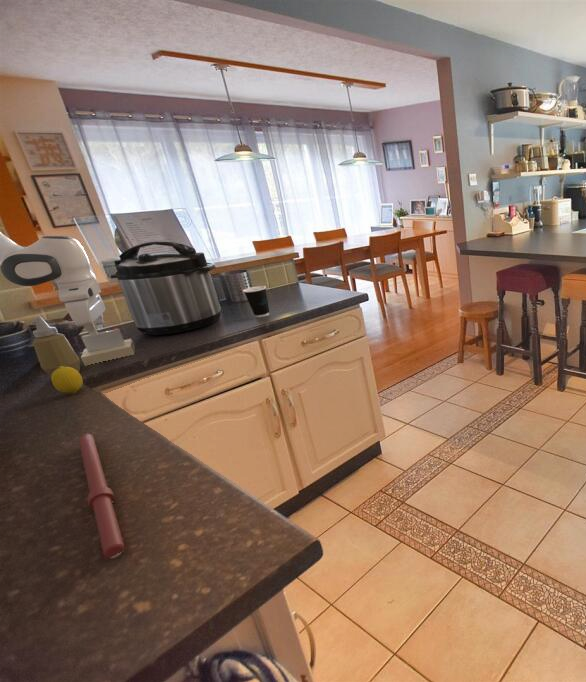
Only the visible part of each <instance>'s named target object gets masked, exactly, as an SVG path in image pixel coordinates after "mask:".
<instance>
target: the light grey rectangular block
mask: <svg viewBox="0 0 586 682" xmlns="http://www.w3.org/2000/svg"><path fill="white" fill-rule="evenodd" d="M98 333H99V335H98V336H96V337H91V336H90V335H89V334H84V335H82V336H81V340H82V341H83V345H84V347H85V349H86V348H87V350H88V352H91V351H96V350H101V349H106V348H110V347H115V346H120V345H124V344H125V341H124V340H125V339H124V336H123V334H122V332H121V329H120V328H118V327H117V328H113V329H110V330H105V331H100V332H99V331H98Z"/></svg>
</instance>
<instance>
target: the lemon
mask: <svg viewBox="0 0 586 682" xmlns="http://www.w3.org/2000/svg"><path fill="white" fill-rule="evenodd" d="M50 378H51V383H52V385H53V387H54V389H55V390H57V391H58V392H61V393H64V394H67V393H68V394H71V395H74V394H76V393H77V391H79V390H80V389H81V388H82V386H83V383H84V382H83V381H84V380H83V376H82V375H81V373H80V371H79V372H78V371H77V370H75V369H74V368H71V367H63V366H60V367H59V368H58V369H56V370H55V371H54V372H53V373H52V376H50Z"/></svg>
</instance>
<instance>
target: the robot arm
mask: <svg viewBox="0 0 586 682" xmlns="http://www.w3.org/2000/svg"><path fill="white" fill-rule="evenodd" d="M0 271H1V274H2V276H3V277H4V278H5V279H6V280H8V281H9V282H10V283H12V284H15V285H18V286H21V287H23V286H24V287H36V286H39V285H43V284H45V283H49V282H51V281H55V284H56V286H57V289H58V291H59V292H58V299H59V301H60V302H61V303H64V306H65V309H66V311H67V313H68V315H69V316H70V319H71V320H72V322H73V323H74V324H75V326H77V327H83V328H84V329H85V330H86V331H87V332H88V335H90V336H91V337H96V336H98V335H99V331H98V330H103V329H105V328H106V324H105V321H104V315H103V313H104V312H106V305H105V303H104V301H103V299H102V297H101V295H100V294H101V293H102V289H101V286H100V284H99V282H98V279H97V277H96V275H95V274H94V273H93V271H92V269H91V263H90V260H89V257H88V255H87V253H86V251H85V250H84V247H83V246H82V245H81V243H80V241H78V240H77V239H75V238H73V237H71V236H65V235H45V236H41V237H40V238H39V239H37V241H35V242H33V243H32V244H30V245H28V246H23V245H20V244H19V243H17V242H15V241H13V240H12V239H11V238H9V237H8V236H6V235H5V234H4V233H2V232H1V231H0Z"/></svg>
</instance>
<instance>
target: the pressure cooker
mask: <svg viewBox="0 0 586 682" xmlns="http://www.w3.org/2000/svg"><path fill="white" fill-rule="evenodd" d="M154 245H156V246H164V247H165V246H166V247H172V248H173V249H174V250H175V251H176V252H162V253H161V252H160V253H152V254H150V253H140V254H139V252H140V250H141V248H145V247H149V246H154ZM118 257H119V259H115V260H114V265H115V270H116V272H115V273H114V274H111V275H110V278H111V280H112V279H113V280H114V279H116V280H117V282H118V284H119V287H120V290H121V293H122V295H123V297H124V301H125V302H126V305H127V307H128V310H129V314H130V315H131V318H132V320H133V323H134V327H136V329H137V330H138V331H139V332H140V333H142V334H145V333H146V334H148V335H151V336H162V335H170V334H171V335H173V334H177V333H182V332H183V333H184V332H189V331H193V330H198V329H201V328H204V327H207V326H208V325H211V324H213V323H215V322H217V321H219V319H221V315H222V307H221V304H220V301H219V298H218V295H217V291H216V289H215V284H214V281H213V279H212V275H211V271H212V270H214V269H217V268H216V265H215V264H208V263H207V258H206V256H205V253H204V252H201V251H200V252H197V251H196V248H195V247H192V246H190V245H187V244H183V243H179V242H173V241H150V242H143V243H140V244H137V245H134V246H131V247H130V248H128V249H126V250H124V251H123V252H122V253H121V254H120V255H119V256H118Z"/></svg>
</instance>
